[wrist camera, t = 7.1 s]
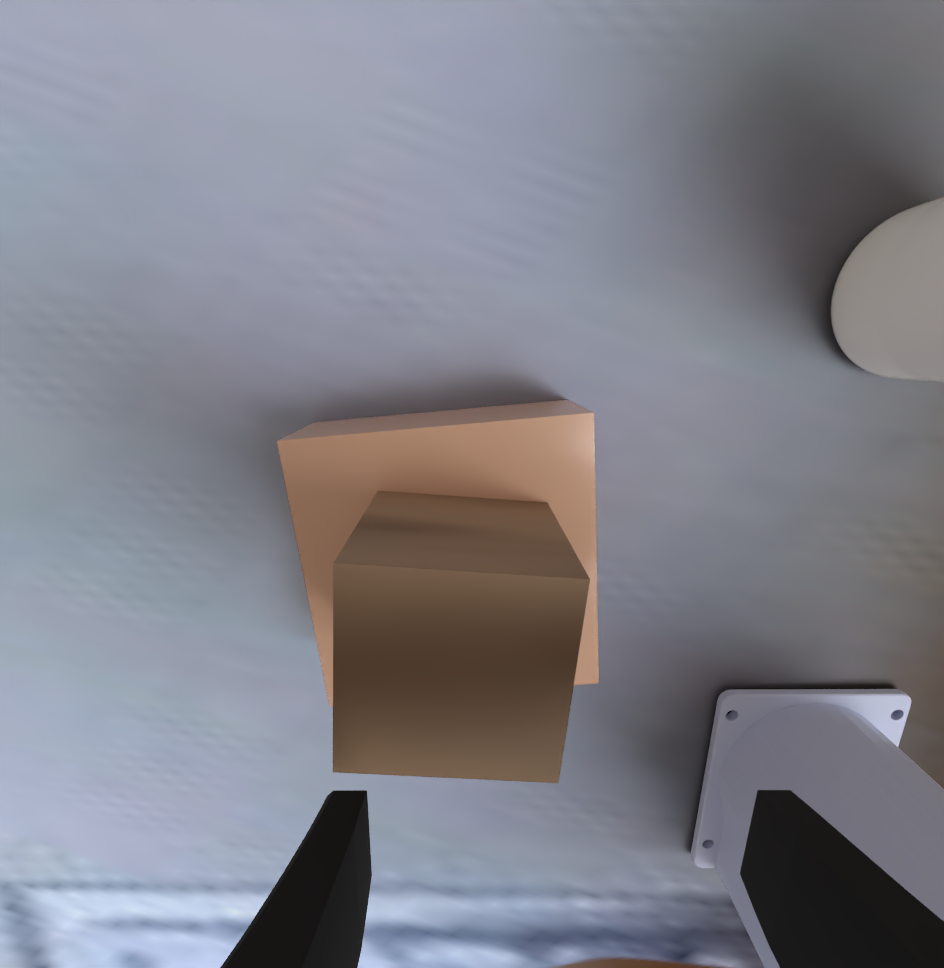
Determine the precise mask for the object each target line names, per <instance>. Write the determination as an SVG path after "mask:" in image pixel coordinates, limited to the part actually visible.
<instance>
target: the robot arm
mask: <svg viewBox="0 0 944 968" xmlns="http://www.w3.org/2000/svg"><path fill="white" fill-rule="evenodd" d="M910 706H911V699H910V697H909V696H908V695H907V694H905V693H904V692H903V691H901V690H899V689H737V690H726V691H724V692H722V693H721V694H720V695H719V697H718V700H717V706H716V712H715V717H714V723H713V729H712V734H711V740H710V746H709V752H708V757H707V763H706V769H705V775H704V780H703V786H702V792H701V797H700V803H699V809H698V815H697V820H696V826H695V832H694V838H693V843H692V849H691V857H692V860H693V862H694V864H695V865H696V866H698V867H700V868H716V869H717V871H718V873H719V875H720V877H721V879H722V881H723V883H724V885H725V887H726V889H727V891H728V893H729V895H730V897H731V899H732V901H733V903H734V906H735V908H736V910H737V912H738V914H739V916H740V918H741V920H742V922H743V924H744V926H745V928H746V930H747V932H748V934H749V936H750V938H751V940H752V942H753V944H754V946H755V949H756V951H757V953H758V955H759V957H760V959H761V961H762V963H763V965H764V967H765V968H944V789H943V788H942V787H941V786H940V785H939V784H938V783H936V782H935V781H934V780H933V779H932V778H931V777H930V776H929V775H928V774H927V773H925V772H924V771H923V770H922V769H921V768H920V767H919V766H918V765H917V764H916V763H915V762H913V761H912V760H911V759H910V758H909V757H908V756H907V755H906V754H905V753H904V752H903V751H901V750H900V749H899V748H898V745H899V742H900V739H901V736H902V732H903V729H904V726H905V722H906V719H907V716H908V712H909V709H910ZM729 711H732V712H730V713H729V714H727V713H728V712H729ZM371 876H372V873H371V855H370V837H369V820H368V802H367V791H333V792H331V793H330V794H329V795H328V796H327V798H326V800H325V802H324V804H323V805H322V807H321V809H320V811H319V813H318V815H317V817H316V818H315V820H314V822H313V824H312V825H311V827H310V829H309V831H308V833H307V834H306V836H305V838H304V839H303V841H302V843H301V845H300V846H299V848H298V850H297V851H296V853H295V855H294V856H293V858H292V859H291V861H290V863H289V864H288V866H287V868H286V869H285V871H284V873H283V874H282V876H281V877H280V879H279V881H278V882H277V884H276V885H275V887H274V888H273V890H272V892H271V893H270V895H269V896H268V898H267V899H266V901H265V902H264V904H263V906H262V907H261V909H260V910H259V912H258V913H257V915H256V916H255V918H254V920H253V921H252V923H251V924H250V926H249V927H248V929H247V930H246V932H245V933H244V935H243V936H242V938H241V939H240V941H239V942H238V943H237V945H236V946H235V948H234V949H233V951H232V952H231V953H230V955H229V956H228V958H227V959H226V961H225V962H224V964H223V965H222V966H221V968H357V966H358V961H359V957H360V952H361V947H362V940H363V933H364V926H365V920H366V913H367V905H368V898H369V891H370V883H371Z"/></svg>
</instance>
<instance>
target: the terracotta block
mask: <svg viewBox="0 0 944 968" xmlns="http://www.w3.org/2000/svg"><path fill="white" fill-rule="evenodd" d="M277 445H278V450H279V455H280V460H281V465H282V470H283V475H284V480H285V485H286V490H287V495H288V500H289V505H290V510H291V515H292V520H293V525H294V530H295V535H296V540H297V545H298V550H299V555H300V560H301V565H302V570H303V575H304V580H305V585H306V590H307V595H308V600H309V605H310V610H311V615H312V620H313V625H314V630H315V635H316V640H317V645H318V650H319V655H320V660H321V665H322V671H323V676H324V681H325V686H326V691H327V696H328V701H329V706H333V563H334V561H335V559H336V558H337V556H338V555H339V553H340V551H341V550H342V548H343V547H344V545H345V543H346V542H347V540H348V538H349V537H350V535H351V534H352V532H353V530H354V529H355V527H356V525H357V524H358V522H359V521H360V519H361V517H362V516H363V514H364V512H365V511H366V509H367V508H368V506H369V504H370V503H371V501H372V499H373V498H374V496H375V495H376V493H377V491H390V492H405V493H419V494H434V495H448V496H462V497H477V498H491V499H505V500H520V501H534V502H548V504H549V506H550V508H551V510H552V511H553V513H554V515H555V517H556V519H557V521H558V522H559V524H560V526H561V528H562V530H563V531H564V533H565V535H566V537H567V539H568V540H569V542H570V544H571V546H572V548H573V549H574V551H575V553H576V555H577V557H578V558H579V560H580V562H581V564H582V566H583V568H584V569H585V571H586V573H587V575H588V577H589V578H590V584H589V590H588V597H587V603H586V609H585V616H584V622H583V629H582V635H581V641H580V648H579V654H578V661H577V667H576V673H575V680H574V685H583V684H595V683H599V665H598V608H597V552H596V496H595V439H594V412H592V411H590V410H588V409H586V408H584V407H582V406H580V405H578V404H576V403H573V402H571V401H569V400H557V401H545V402H534V403H523V404H512V405H501V406H489V407H478V408H467V409H456V410H445V411H433V412H422V413H411V414H400V415H389V416H377V417H366V418H355V419H344V420H333V421H321V422H314V423H312V424H310V425H308V426H306V427H304V428H302V429H300V430H298V431H296V432H294V433H291V434H289V435H287V436H285V437H283V438H281V439H279V440H277Z"/></svg>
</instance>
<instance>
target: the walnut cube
mask: <svg viewBox="0 0 944 968" xmlns="http://www.w3.org/2000/svg"><path fill="white" fill-rule="evenodd" d="M589 584H590V578H589V577H588V575H587V573H586V571H585V569H584V568H583V566H582V564H581V562H580V560H579V558H578V557H577V555H576V553H575V551H574V549H573V548H572V546H571V544H570V542H569V540H568V539H567V537H566V535H565V533H564V531H563V530H562V528H561V526H560V524H559V522H558V521H557V519H556V517H555V515H554V513H553V511H552V510H551V508H550V506H549V504H548V502H534V501H520V500H505V499H491V498H477V497H462V496H448V495H434V494H419V493H405V492H390V491H377V493H376V495H375V496H374V498H373V499H372V501H371V503H370V504H369V506H368V508H367V509H366V511H365V512H364V514H363V516H362V517H361V519H360V521H359V522H358V524H357V525H356V527H355V529H354V530H353V532H352V534H351V535H350V537H349V538H348V540H347V542H346V543H345V545H344V547H343V548H342V550H341V551H340V553H339V555H338V556H337V558H336V559H335V561H334V563H333V772H340V773H361V774H381V775H402V776H423V777H443V778H464V779H485V780H505V781H526V782H546V783H558V782H559V776H560V769H561V763H562V756H563V750H564V744H565V737H566V731H567V724H568V718H569V712H570V705H571V699H572V692H573V686H574V680H575V673H576V667H577V661H578V654H579V648H580V641H581V635H582V629H583V622H584V616H585V609H586V603H587V597H588V590H589Z"/></svg>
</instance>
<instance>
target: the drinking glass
mask: <svg viewBox="0 0 944 968" xmlns="http://www.w3.org/2000/svg"><path fill="white" fill-rule="evenodd" d="M831 322H832V328H833V332H834V335H835V338H836V340H837V342H838V344H839V346H840V348H841V349H842V351H843V352H844V353H845V355H846V356H847V357H848V358H849V359H850V360H851V361H852V362H853V363H855V364H856V365H857V366H859V367H860V368H862V369H863V370H866V371H868V372H870V373H872V374H875V375H878V376H882V377H887V378H894V379H905V380H920V381H934V382H941V383H944V197H942V198H939V199H936V200H933V201H929V202H926V203H923V204H920V205H917V206H914V207H912V208H909V209H907V210H904V211H902V212H900V213H898V214H896V215H894V216H892V217H891V218H889V219H887V220H886V221H884V222H883V223H881V224H880V225H878V226H877V227H876V228H875V229H873V230H872V231H871V232H870V233H869V234H868V235H867V236H866V237H865V238H863V240H862V241H861V242H860V243H859V244H858V245H857V246H856V247H855V249H854V250H853V251H852V253H851V254H850V256H849V257H848V259H847V260H846V262H845V264H844V265H843V267H842V269H841V271H840V273H839V275H838V278H837V281H836V283H835V287H834V291H833V295H832V301H831Z"/></svg>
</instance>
